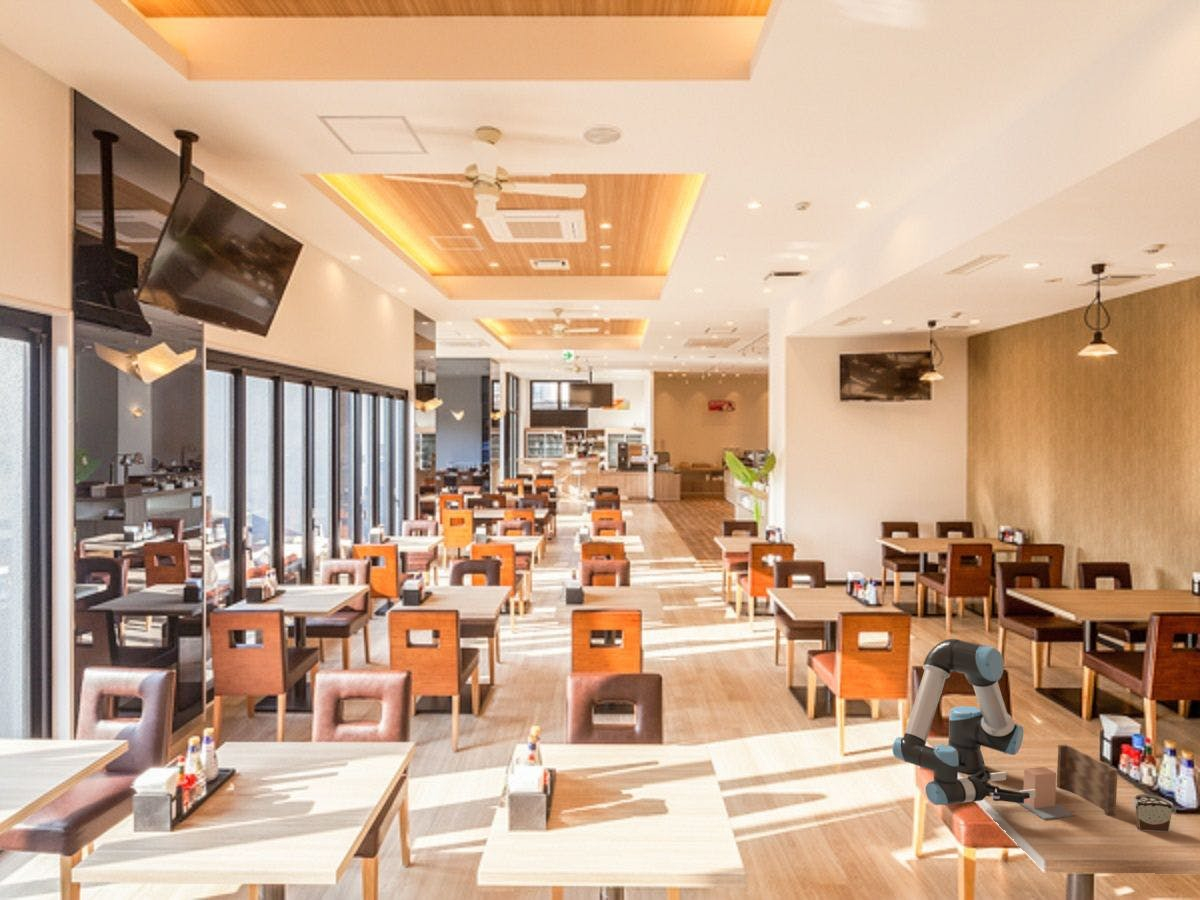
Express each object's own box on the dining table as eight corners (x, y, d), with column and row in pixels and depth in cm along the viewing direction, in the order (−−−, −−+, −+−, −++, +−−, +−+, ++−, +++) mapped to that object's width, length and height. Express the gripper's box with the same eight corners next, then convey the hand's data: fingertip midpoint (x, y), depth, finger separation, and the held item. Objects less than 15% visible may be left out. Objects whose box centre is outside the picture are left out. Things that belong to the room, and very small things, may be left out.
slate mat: (1005, 795, 284) (1005, 793, 284) (1034, 792, 287) (1034, 790, 287) (1043, 819, 267) (1043, 818, 267) (1074, 816, 270) (1074, 814, 270)
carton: (1023, 801, 278) (1024, 768, 278) (1043, 799, 280) (1045, 766, 280) (1033, 808, 273) (1035, 775, 273) (1054, 805, 275) (1056, 772, 275)
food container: (1161, 823, 266) (1163, 794, 266) (1173, 832, 260) (1174, 803, 260) (1124, 820, 267) (1125, 792, 267) (1134, 829, 261) (1135, 800, 261)
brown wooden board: (1056, 786, 292) (1058, 745, 291) (1064, 785, 293) (1066, 744, 292) (1107, 815, 271) (1109, 770, 270) (1115, 814, 271) (1117, 769, 271)
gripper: (944, 784, 281) (993, 778, 287) (994, 818, 257) (1047, 811, 262) (945, 763, 281) (994, 759, 286) (995, 796, 257) (1048, 790, 262)
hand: (1019, 784), depth 274 cm, fingers open, 13 cm apart
